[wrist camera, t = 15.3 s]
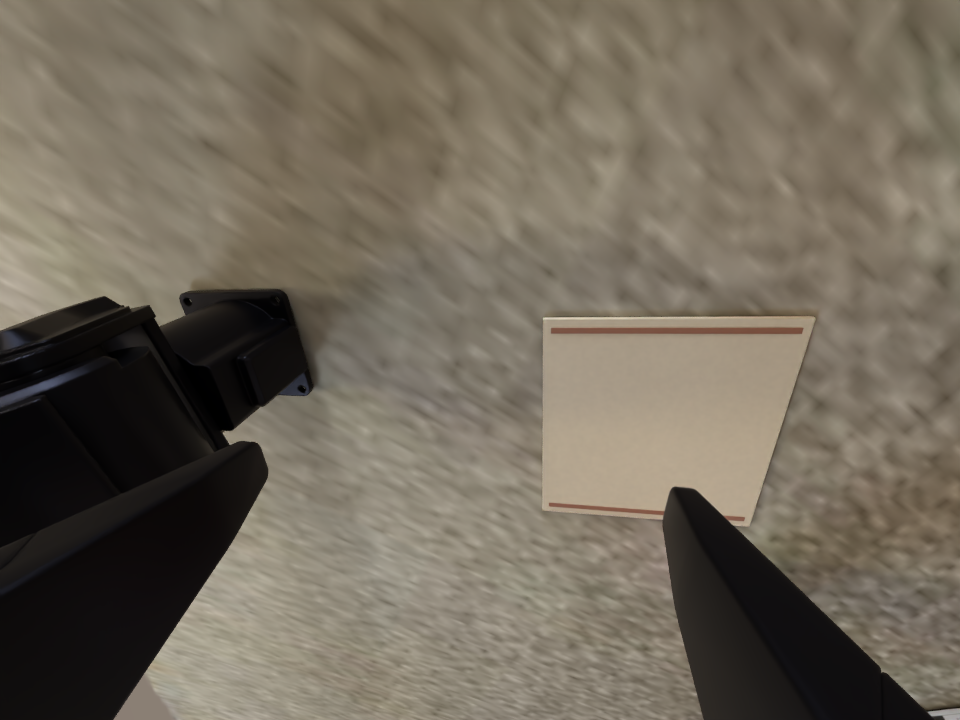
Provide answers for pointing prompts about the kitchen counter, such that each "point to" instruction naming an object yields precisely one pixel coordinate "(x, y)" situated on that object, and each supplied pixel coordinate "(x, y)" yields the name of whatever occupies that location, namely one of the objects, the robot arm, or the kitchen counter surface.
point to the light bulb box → (946, 714)
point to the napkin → (664, 410)
